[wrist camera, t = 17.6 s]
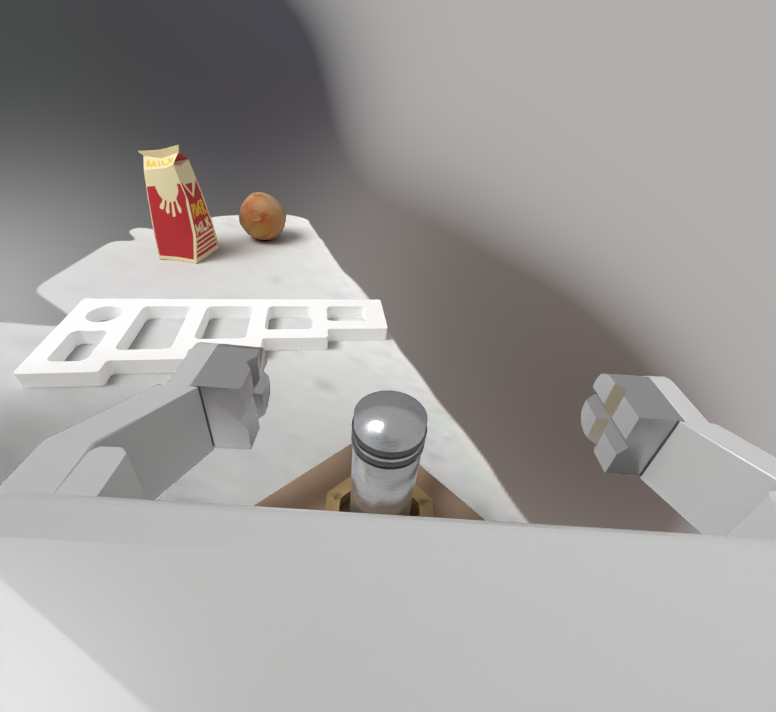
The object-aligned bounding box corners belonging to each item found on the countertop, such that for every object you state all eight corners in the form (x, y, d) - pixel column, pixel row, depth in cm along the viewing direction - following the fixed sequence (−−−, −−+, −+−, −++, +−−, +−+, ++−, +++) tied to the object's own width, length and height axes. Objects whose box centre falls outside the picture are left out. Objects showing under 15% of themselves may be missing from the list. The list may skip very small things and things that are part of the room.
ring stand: (244, 519, 36) (240, 499, 35) (375, 434, 46) (376, 415, 44) (380, 708, 26) (383, 693, 25) (510, 550, 36) (519, 531, 34)
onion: (294, 243, 90) (291, 197, 85) (249, 249, 86) (243, 200, 80) (279, 229, 97) (275, 185, 91) (237, 234, 92) (230, 188, 86)
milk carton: (219, 247, 85) (201, 142, 74) (198, 264, 78) (174, 150, 66) (177, 242, 86) (153, 136, 74) (152, 258, 78) (121, 144, 67)
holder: (379, 313, 69) (380, 299, 68) (395, 380, 55) (397, 364, 53) (89, 314, 62) (83, 298, 60) (22, 391, 48) (11, 373, 46)
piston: (335, 535, 35) (336, 420, 26) (369, 493, 38) (379, 380, 30) (386, 570, 33) (404, 457, 24) (417, 522, 36) (441, 409, 28)
